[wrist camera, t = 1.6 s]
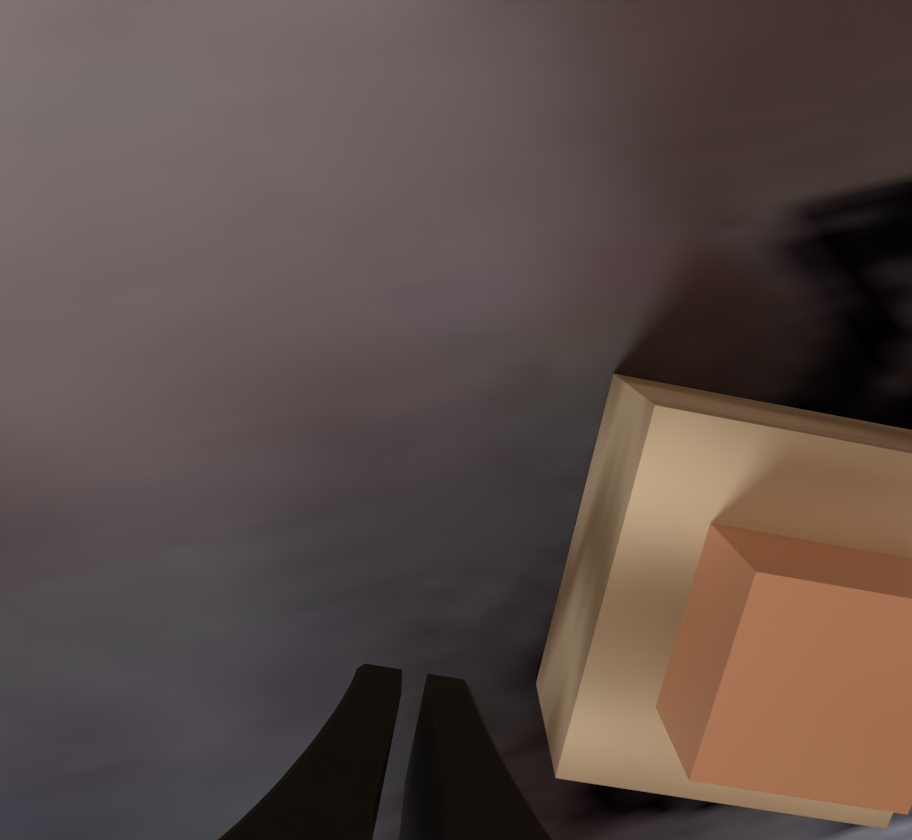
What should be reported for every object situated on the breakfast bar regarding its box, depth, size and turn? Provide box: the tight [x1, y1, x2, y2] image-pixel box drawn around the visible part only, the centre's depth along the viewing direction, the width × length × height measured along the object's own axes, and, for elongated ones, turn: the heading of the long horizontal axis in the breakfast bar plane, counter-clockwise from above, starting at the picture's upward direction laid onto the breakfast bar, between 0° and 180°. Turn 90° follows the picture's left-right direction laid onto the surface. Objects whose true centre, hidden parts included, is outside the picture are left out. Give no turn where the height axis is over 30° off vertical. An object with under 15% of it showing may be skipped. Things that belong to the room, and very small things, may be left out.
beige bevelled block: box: [536, 373, 912, 829], centre depth 19 cm, size 10×9×4 cm
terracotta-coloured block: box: [655, 523, 912, 815], centre depth 16 cm, size 5×5×2 cm
